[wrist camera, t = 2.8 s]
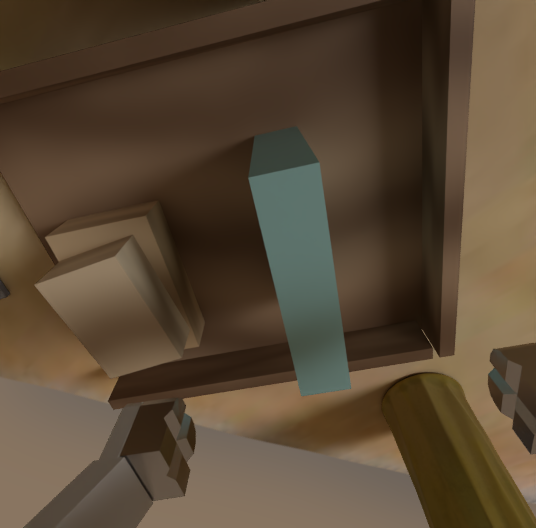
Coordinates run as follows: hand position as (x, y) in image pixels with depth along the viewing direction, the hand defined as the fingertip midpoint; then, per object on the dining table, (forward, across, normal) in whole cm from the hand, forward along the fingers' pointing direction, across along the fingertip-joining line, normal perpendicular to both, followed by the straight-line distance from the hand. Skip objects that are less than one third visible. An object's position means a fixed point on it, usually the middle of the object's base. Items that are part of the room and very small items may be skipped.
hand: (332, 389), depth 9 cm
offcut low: (+11, +9, 0) cm, 14 cm away
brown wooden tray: (+12, +3, -1) cm, 12 cm away
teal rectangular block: (+11, 0, -1) cm, 11 cm away
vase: (+12, -7, +16) cm, 21 cm away
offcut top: (+8, +9, +1) cm, 13 cm away
